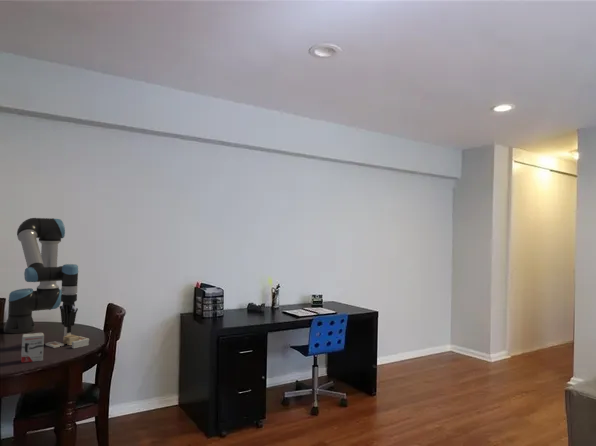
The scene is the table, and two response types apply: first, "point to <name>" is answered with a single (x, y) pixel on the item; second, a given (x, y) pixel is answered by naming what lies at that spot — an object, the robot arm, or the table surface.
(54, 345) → the trap pits
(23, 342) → the ink box
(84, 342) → the block
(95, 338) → the table surface
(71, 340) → the maple block
